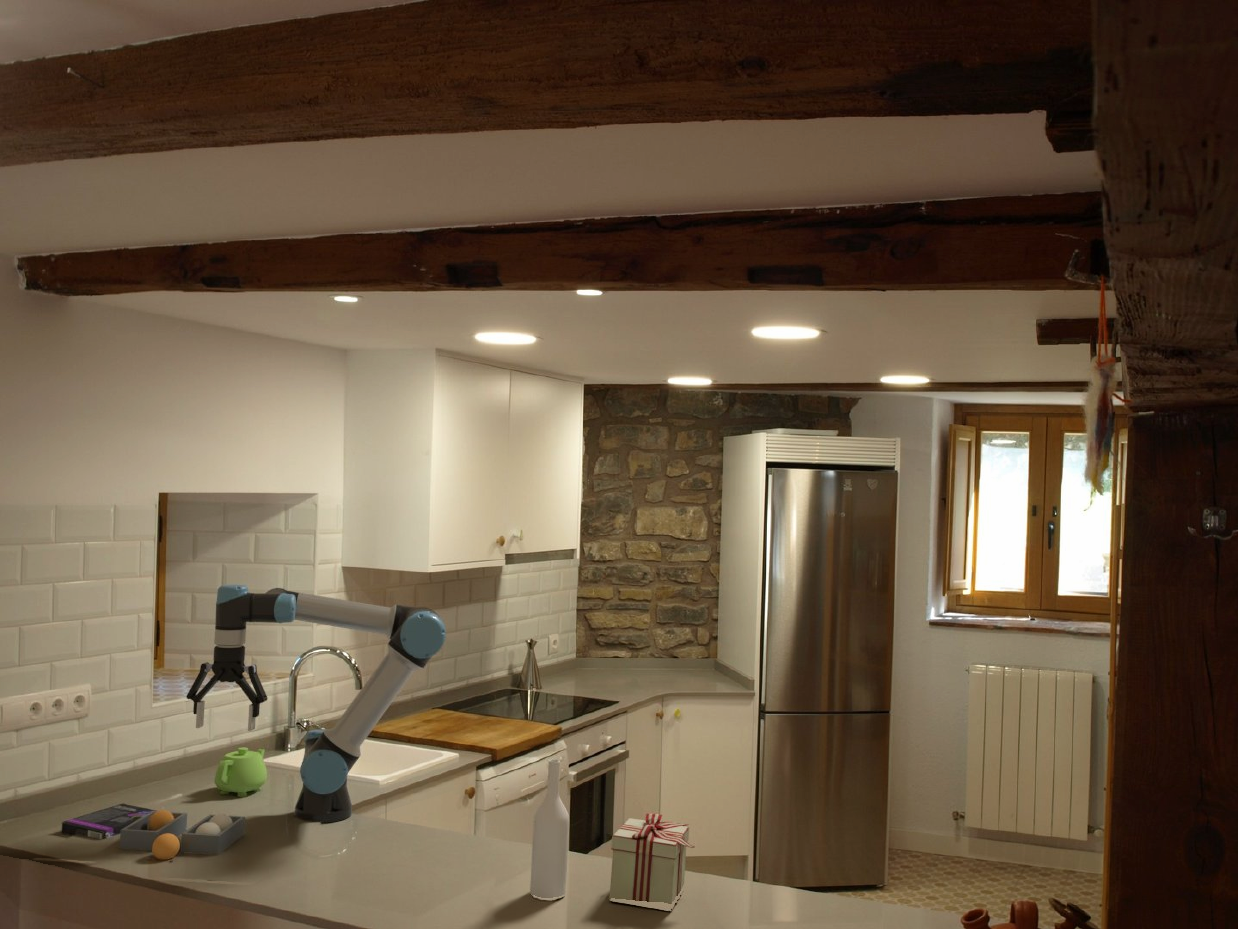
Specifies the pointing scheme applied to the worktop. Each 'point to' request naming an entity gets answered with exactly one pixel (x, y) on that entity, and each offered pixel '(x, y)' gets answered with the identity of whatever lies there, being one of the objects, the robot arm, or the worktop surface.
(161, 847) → the orange ball
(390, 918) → the worktop surface
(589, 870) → the worktop surface
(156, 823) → the orange ball
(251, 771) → the teapot
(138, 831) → the ball tray
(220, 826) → the cream ball
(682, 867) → the gift box
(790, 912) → the worktop surface
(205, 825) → the cream ball
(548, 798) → the bottle
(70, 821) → the box
